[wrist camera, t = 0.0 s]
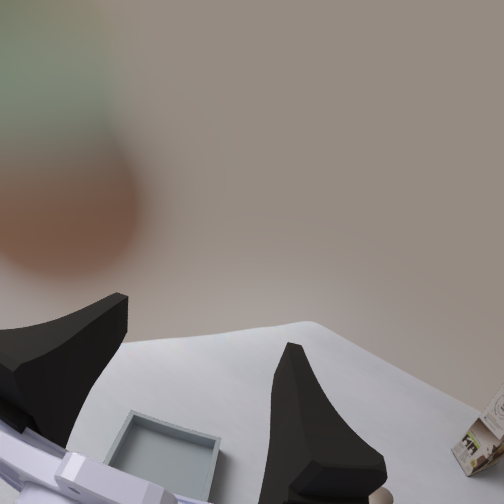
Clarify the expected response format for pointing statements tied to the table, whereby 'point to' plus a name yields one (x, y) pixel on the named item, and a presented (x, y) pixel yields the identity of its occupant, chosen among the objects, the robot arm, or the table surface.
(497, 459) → the coffee box
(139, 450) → the tray
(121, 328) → the robot arm
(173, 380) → the table surface
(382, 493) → the crank lever
